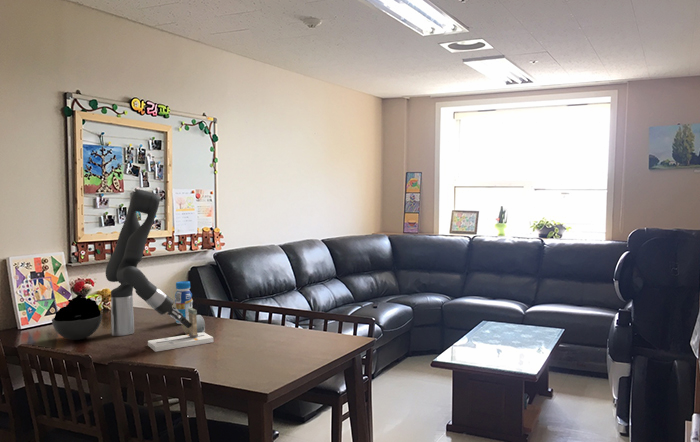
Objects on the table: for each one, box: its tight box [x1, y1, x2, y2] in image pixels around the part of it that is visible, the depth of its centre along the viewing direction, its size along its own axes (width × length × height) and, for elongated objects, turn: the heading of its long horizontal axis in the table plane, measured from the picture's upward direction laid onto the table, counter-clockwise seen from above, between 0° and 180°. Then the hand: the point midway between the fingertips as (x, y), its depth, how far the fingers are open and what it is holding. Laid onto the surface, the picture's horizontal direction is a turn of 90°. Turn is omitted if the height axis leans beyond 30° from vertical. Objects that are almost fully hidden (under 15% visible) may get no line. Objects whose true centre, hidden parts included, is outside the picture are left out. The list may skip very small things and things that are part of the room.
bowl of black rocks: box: [51, 294, 103, 341], centre depth 256 cm, size 20×20×19 cm
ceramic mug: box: [181, 314, 206, 335], centre depth 262 cm, size 11×8×8 cm
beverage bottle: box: [174, 280, 194, 325], centre depth 285 cm, size 8×8×20 cm
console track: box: [147, 331, 214, 352], centre depth 244 cm, size 24×12×2 cm, turn 123°
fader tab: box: [188, 307, 198, 338], centre depth 246 cm, size 3×6×12 cm, turn 33°
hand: (189, 326), depth 246 cm, fingers closed
